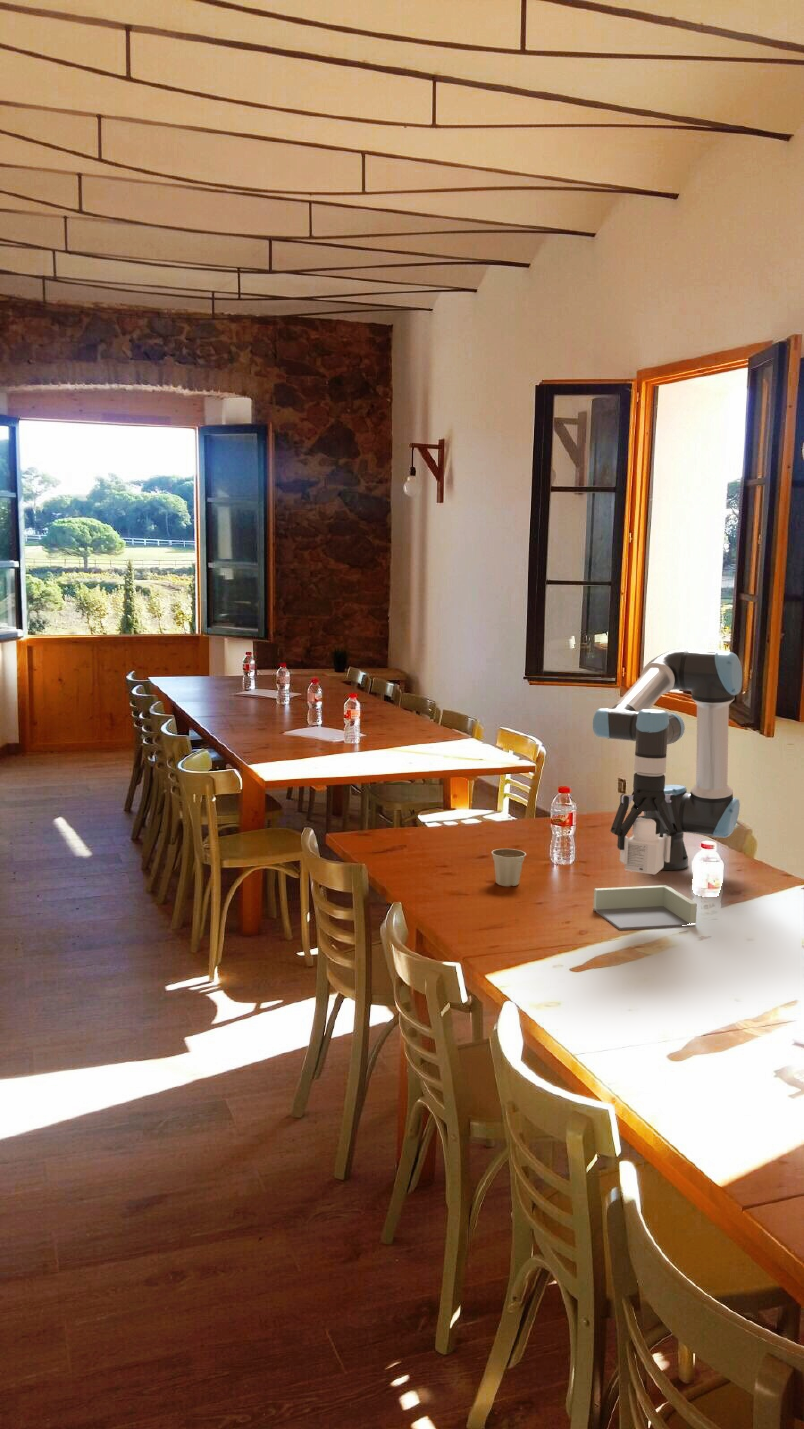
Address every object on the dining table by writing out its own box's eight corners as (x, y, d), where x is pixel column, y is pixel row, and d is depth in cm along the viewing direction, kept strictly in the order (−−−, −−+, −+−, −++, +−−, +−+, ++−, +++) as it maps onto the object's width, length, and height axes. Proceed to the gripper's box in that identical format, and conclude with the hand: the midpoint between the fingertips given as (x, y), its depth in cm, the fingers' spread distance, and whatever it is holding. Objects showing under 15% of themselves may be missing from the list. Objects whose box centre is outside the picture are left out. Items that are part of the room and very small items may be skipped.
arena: (665, 906, 294) (666, 885, 293) (695, 925, 279) (696, 903, 278) (593, 909, 289) (594, 888, 289) (619, 930, 274) (620, 907, 273)
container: (633, 863, 286) (636, 812, 285) (663, 868, 283) (666, 816, 281) (624, 870, 279) (627, 818, 278) (655, 875, 276) (658, 822, 274)
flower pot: (524, 879, 315) (526, 849, 314) (525, 889, 306) (526, 858, 305) (490, 878, 316) (491, 847, 315) (489, 887, 307) (491, 856, 306)
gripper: (685, 769, 284) (680, 856, 287) (599, 771, 279) (594, 859, 282) (700, 775, 277) (694, 863, 280) (612, 777, 272) (607, 867, 274)
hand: (644, 861), depth 281 cm, fingers closed on container, 10 cm apart
